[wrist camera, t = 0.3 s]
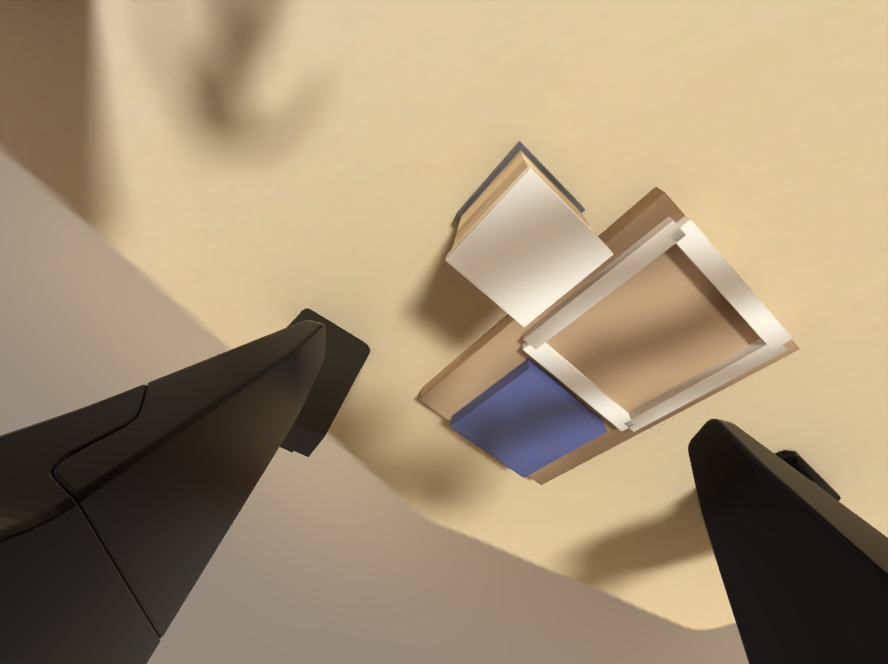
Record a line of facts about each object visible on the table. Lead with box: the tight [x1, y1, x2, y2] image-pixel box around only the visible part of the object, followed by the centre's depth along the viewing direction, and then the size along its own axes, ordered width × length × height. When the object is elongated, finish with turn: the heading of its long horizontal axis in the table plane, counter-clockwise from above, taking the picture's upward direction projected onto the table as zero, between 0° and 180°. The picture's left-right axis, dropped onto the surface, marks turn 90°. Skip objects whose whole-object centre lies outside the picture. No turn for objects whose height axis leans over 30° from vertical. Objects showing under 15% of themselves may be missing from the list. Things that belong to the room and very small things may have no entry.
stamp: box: [445, 141, 614, 327], centre depth 16 cm, size 4×4×7 cm
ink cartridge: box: [280, 309, 370, 457], centre depth 22 cm, size 5×2×8 cm, turn 55°
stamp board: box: [419, 187, 799, 485], centre depth 23 cm, size 12×18×2 cm, turn 140°
